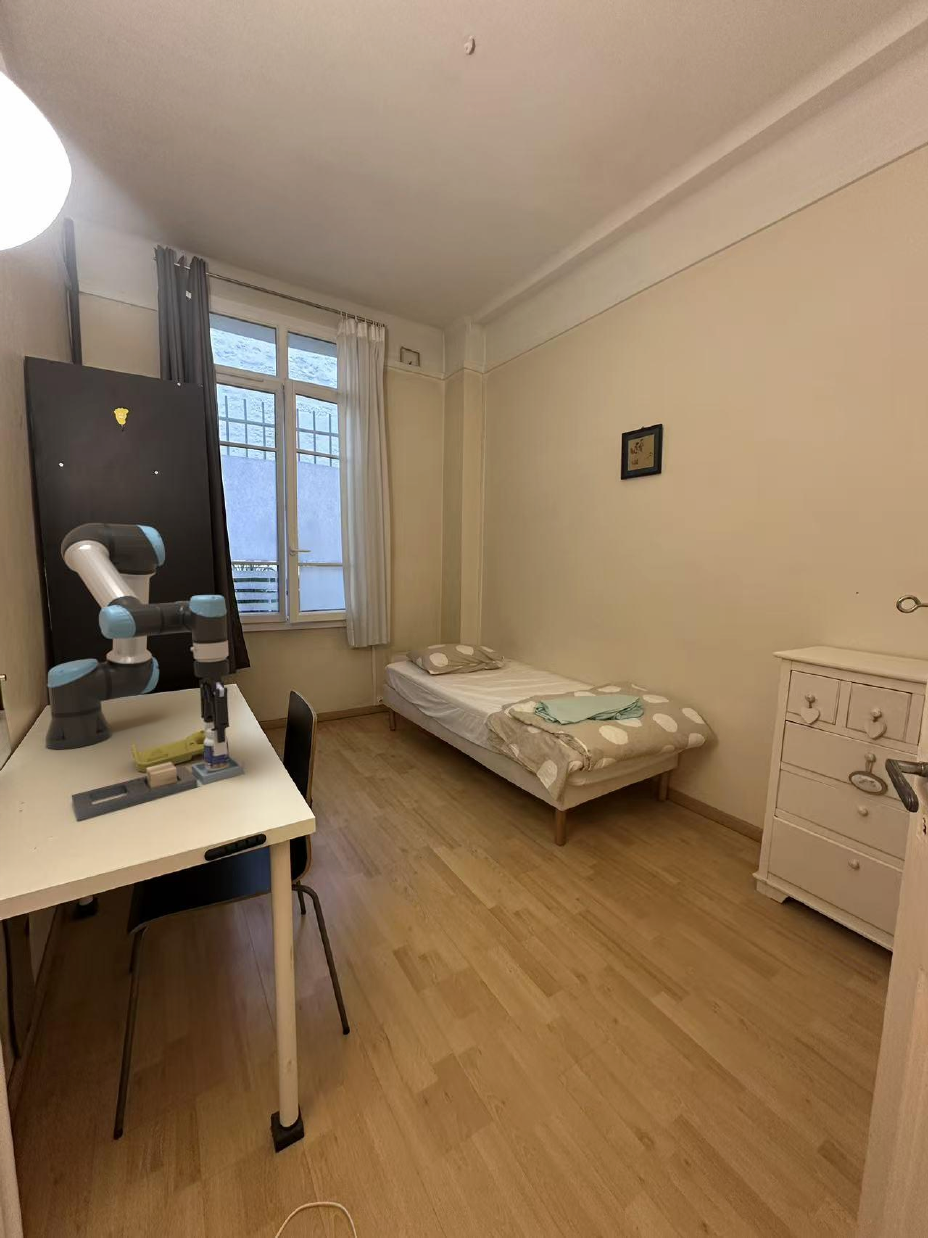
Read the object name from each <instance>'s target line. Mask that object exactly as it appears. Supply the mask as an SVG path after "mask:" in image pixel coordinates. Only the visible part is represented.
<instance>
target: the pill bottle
mask: <svg viewBox="0 0 928 1238" xmlns="http://www.w3.org/2000/svg"><path fill="white" fill-rule="evenodd" d="M213 728H214V727H213ZM211 729H212V728H209V729H207V730H206V736H207V738H206V739H205V740H204V754H203V756H204V762H205V769H206V770H208V771H217V770H222V769H224V768H226V767H228V765H229V755H230V754H229V751H230V750H229V738H228V736H227V735H226V742H227V754H223V755H219V756H214V742H213V731H211Z"/></svg>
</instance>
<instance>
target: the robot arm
mask: <svg viewBox="0 0 928 1238" xmlns="http://www.w3.org/2000/svg"><path fill="white" fill-rule="evenodd" d="M60 547H61V548H60V553H61V557H62V559H63V561H64V562H65V564H66V565H67V567H68V568H69V569H70V570H72V571H74V572H76V573H77V574H78V576H79V577H80V579H81V580H82V581H83V583H84V584H85V586H86V587H87V589H88V590H89V592H90V593H91V595H92V596H93V597H94V599H95V601H96V602H97V603H98V605H99V606H100V608H101V610H100V611H99V614H98V625H99V627H100V631H101V634H102V635H103V636H104V638H106V639H110V640H112V650H111V651H109V652H108V653H107V654H106V661H104V662H99V661H98V660H97V659H95V658H86V659H77V660H74V661H68V662H65V663H61V664H58V665H56V666H54V667H52V668H50V670H49V671H48V673H47V688H48V695H49V697H48V698H49V706H50V716H51V720H50V723H49V727H48V729H47V732H46V736H45V739H44V740H45V747H46V748H48V749H50V750H67V749H75V748H82V747H87V746H90V745H94V744H97V743H101V742H104V741H105V740H107V739H109V738H110V737H111V736H112V731H111V726H110V724H109V723H108V720H107V718H106V716H105V715H104V713H103V710H102V702H105V701H110V700H117V699H120V698H127V697H132V696H133V697H134V696H141V695H142V694H146V693H149V692H151V691H153V690H154V689H155V688H156V686H157V684H158V681H159V675H160V669H159V662H158V661H157V659H156V658H155V657H154V656H153V655H152V653H151V652H150V650H148V649H147V641H148V639H147V638H148V637H149V636H157V635H167V634H168V635H169V634H177V633H191V634H192V635H191V636H192V640H191V641H192V646H191V647H190V651H191V652H192V654H193V659H195V661H193V668H194V669H193V670H194V676H195V677H196V678H202V679H199V680H198V684H199V693H200V711H201V713H200V714H201V715H200V717H201V719H203V722H204V730H205V737H206V738H207V736H206V730H207V729H209V728H212V729H211V731H213V742H214V756H219V755H223V754H227V742H226V736H227V728H229V727H230V720H229V705H228V689H229V688H228V687H227V686H226V687H225V685H224V684H225V683H224V681H223V679H222V677H223V676H226V675H228V674H229V673H230V663H229V659H228V658H227V657H228V656H229V640H228V623H227V619H228V618H227V612H228V611H227V608H226V607H227V606H226V598H225V597H224V596H223V595H220V594H202V595H200V594H199V595H193V596H192V597H191V598H190V600H180V601H179V600H178V601H175V602H163V603H162V602H161V603H149V599H150V596H149V593H150V578H151V577H152V576H154V575H155V574H156V572H157V569H156V568H157V567H159V566H162V565H163V564H165V563H164V562H165V560H166V552H165V551H166V550H165V545H164V542H163V539H162V537H161V534H160V533H159V531H157V529H155V528H153V527H152V526H146V525H139V524H120V523H101V522H92V523H91V522H90V523H89V522H88V523H85V524H82V525H80V526H77V527H75V528H73V529H72V530H71V531H69V533H67V534H66V535H65V537H64V538H63V540H62V543H61V545H60ZM213 727H214V728H213Z"/></svg>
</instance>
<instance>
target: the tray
mask: <svg viewBox="0 0 928 1238" xmlns="http://www.w3.org/2000/svg"><path fill="white" fill-rule="evenodd" d="M244 771H245V769H244V765H243V764H242V763H241V762H239V760H237V759H236V758H235V757H234V756H232V755H230V754H229V765H228V767H226V768H224V769H222V770H217V771H208V770H206V769H205V761H202V762H200V763H195V764H191V773H192V774H193V775H194V776H195V777H196V778H197V781H199V782H200V783H201V784H202V785H203V786H204V785H207V784H208V785H209V784H211V783H214V782H218V781H222V780H224V779H229V778H232V777H235V776H239V775H243V774H245V773H244Z"/></svg>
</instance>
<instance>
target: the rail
mask: <svg viewBox="0 0 928 1238" xmlns="http://www.w3.org/2000/svg"><path fill="white" fill-rule="evenodd" d="M176 772H177V782H173V783H169V784H166V785H162V786H158V787H155V788H151V789H148V784H147V775H144V776H142V777H138V778H133V779H131V780H130V779H129V780H125V781H121V782H118V783H114V784H109V785H106V786H102V787H99V788H95V789H90V790H86V791H83V792H79V793H75V794H71V805H72V808H73V810H74V813H75V817H76V820H77V822H81V821H83V820H87V819H91V818H95V817H98V816H101V815H105V814H109V813H112V812H116V811H118V810H119V811H120V810H123V809H125V808H130V807H133V806H137V805H140V804H144V803H146V802H150V801H151V802H152V801H154V800H157V799H161V798H165V797H169V796H172V795H176V794H179V793H183V792H185V791H189V790H192V789H196V788H198V778H197V777H196V776H195V775H194V774H193V773H192V771H190V770H189V769H188V768H187V767H186V766H181V767H177V768H176ZM121 794H125V795H122V796H119V795H121ZM115 796H118V797H115ZM111 797H114V798H111ZM107 798H111V799H107ZM105 799H107V800H105ZM100 800H103V801H100ZM97 801H100V802H97ZM93 802H97V803H93Z"/></svg>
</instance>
